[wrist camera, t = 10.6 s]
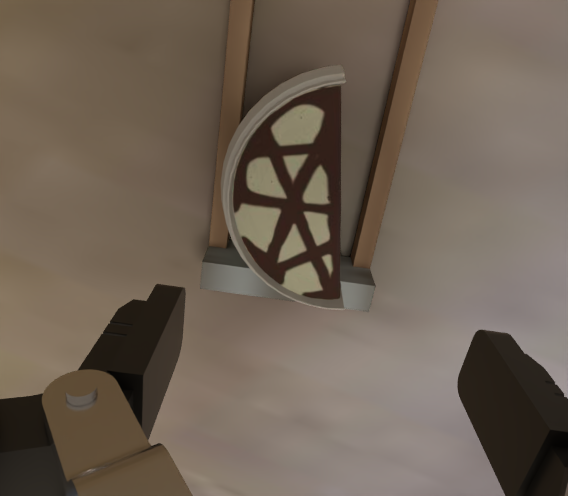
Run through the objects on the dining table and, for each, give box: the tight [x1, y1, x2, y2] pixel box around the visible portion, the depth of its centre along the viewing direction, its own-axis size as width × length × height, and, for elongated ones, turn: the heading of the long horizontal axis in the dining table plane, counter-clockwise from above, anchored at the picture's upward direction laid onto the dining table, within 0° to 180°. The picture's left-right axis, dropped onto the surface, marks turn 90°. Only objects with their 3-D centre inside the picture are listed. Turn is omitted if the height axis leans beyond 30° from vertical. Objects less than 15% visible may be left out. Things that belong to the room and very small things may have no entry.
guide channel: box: [200, 0, 438, 312], centre depth 26 cm, size 11×32×4 cm, turn 172°
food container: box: [221, 65, 346, 310], centre depth 26 cm, size 12×6×10 cm, turn 3°
